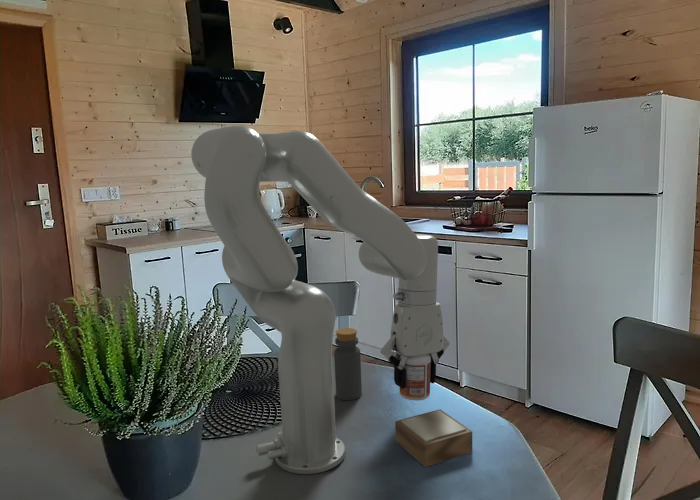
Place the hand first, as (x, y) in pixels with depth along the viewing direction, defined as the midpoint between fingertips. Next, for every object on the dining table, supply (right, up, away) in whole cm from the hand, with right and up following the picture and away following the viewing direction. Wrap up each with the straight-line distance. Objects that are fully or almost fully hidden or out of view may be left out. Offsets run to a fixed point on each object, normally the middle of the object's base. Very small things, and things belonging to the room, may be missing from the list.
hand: (414, 382), depth 112 cm
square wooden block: (+2, -9, -11) cm, 14 cm away
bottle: (-13, -6, +13) cm, 19 cm away
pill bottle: (0, -3, 0) cm, 3 cm away
